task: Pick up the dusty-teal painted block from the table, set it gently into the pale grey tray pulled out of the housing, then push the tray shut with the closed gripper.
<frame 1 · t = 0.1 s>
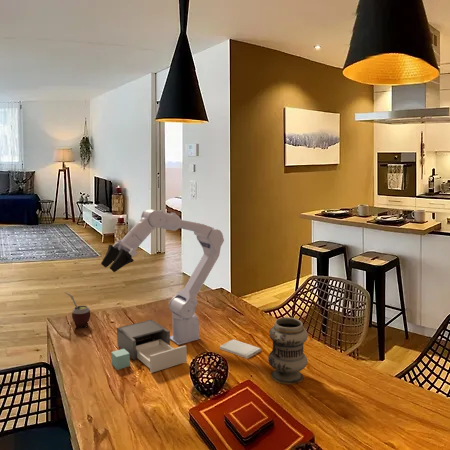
hand: (107, 267, 146), 32 cm above the table, tool tilted 50°, fingers open, 7 cm apart
tray: (157, 350, 151), point 3 cm above the table, slide at 8.0 cm
teal block: (120, 365, 147), on the table
housing: (143, 347, 160), on the table
hard drive: (240, 351, 158), on the table
apothecary jar: (287, 377, 139), on the table
mate gourd: (80, 327, 179), on the table
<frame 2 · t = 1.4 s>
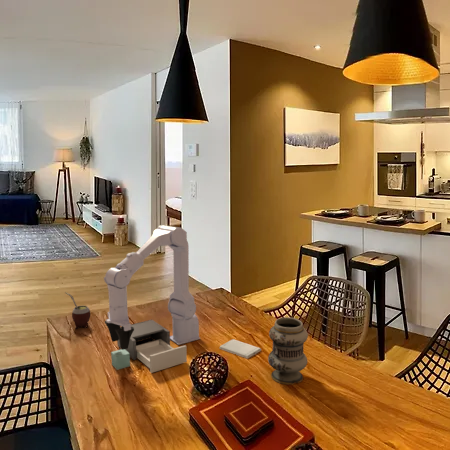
hand: (119, 344, 145), 7 cm above the table, tool pointing down, fingers open, 7 cm apart
nothing on the table moved.
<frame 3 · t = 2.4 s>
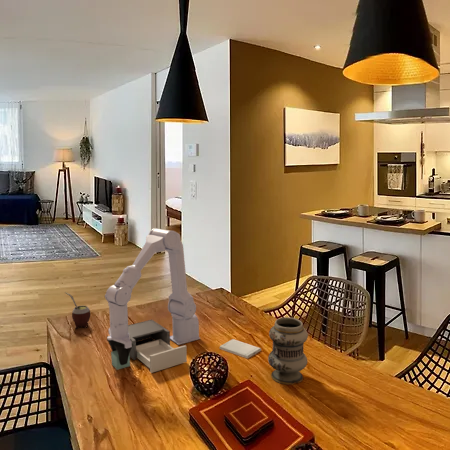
hand: (120, 361, 146), 1 cm above the table, tool pointing down, fingers closed on teal block, 4 cm apart
teal block: (120, 365, 147), on the table, touching gripper
everything else where it was.
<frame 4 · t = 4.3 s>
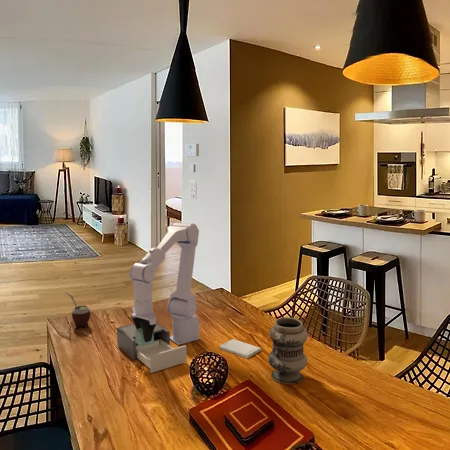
hand: (144, 338, 147), 8 cm above the table, tool pointing down, fingers closed on teal block, 4 cm apart
teal block: (144, 342, 148), point 7 cm above the table, touching gripper
everything else where it was.
when the fingers open (3 cm above the table, at t = 6.0 s): teal block drops 1 cm, resting on tray.
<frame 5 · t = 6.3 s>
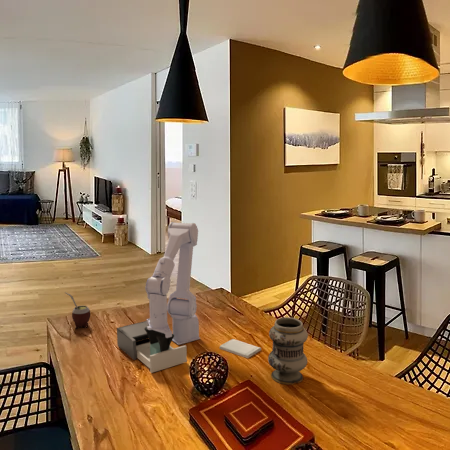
hand: (159, 350, 149), 3 cm above the table, tool pointing down, fingers open, 7 cm apart
tray: (157, 350, 151), point 3 cm above the table, slide at 8.0 cm, touching teal block
teal block: (159, 357, 150), point 1 cm above the table, touching tray
everything else where it was.
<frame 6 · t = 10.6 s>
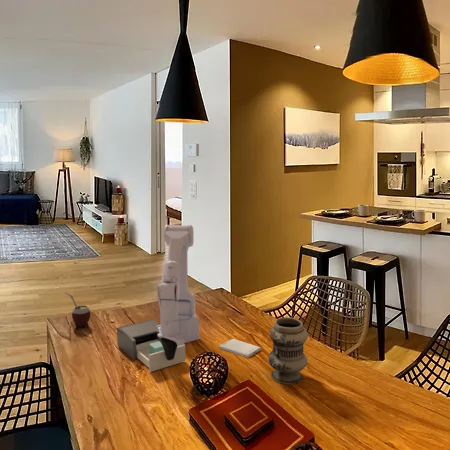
hand: (170, 359, 143), 3 cm above the table, tool pointing down, fingers closed
tray: (156, 349, 151), point 3 cm above the table, slide at 7.2 cm, touching gripper, teal block
everything else where it was.
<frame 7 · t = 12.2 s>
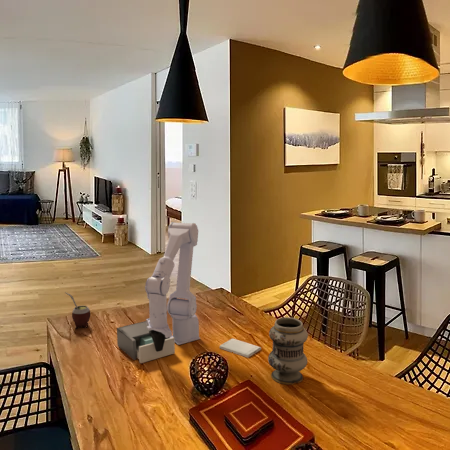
hand: (159, 350, 149), 3 cm above the table, tool pointing down, fingers closed
tray: (146, 342, 157), point 3 cm above the table, slide at -0.1 cm, touching gripper, teal block
teal block: (148, 349, 156), point 1 cm above the table, touching tray
everything else where it was.
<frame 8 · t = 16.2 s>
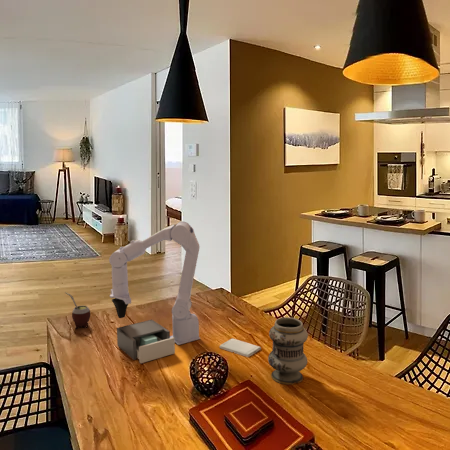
hand: (121, 317, 166), 8 cm above the table, tool pointing down, fingers closed
tray: (146, 342, 157), point 3 cm above the table, slide at 0.0 cm, touching teal block
at the end: tray slide at 0.0 cm; teal block inside the target area on the housing (3.5 cm from its centre), point 0.9 cm above the housing's base; teal block tilted 0° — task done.
